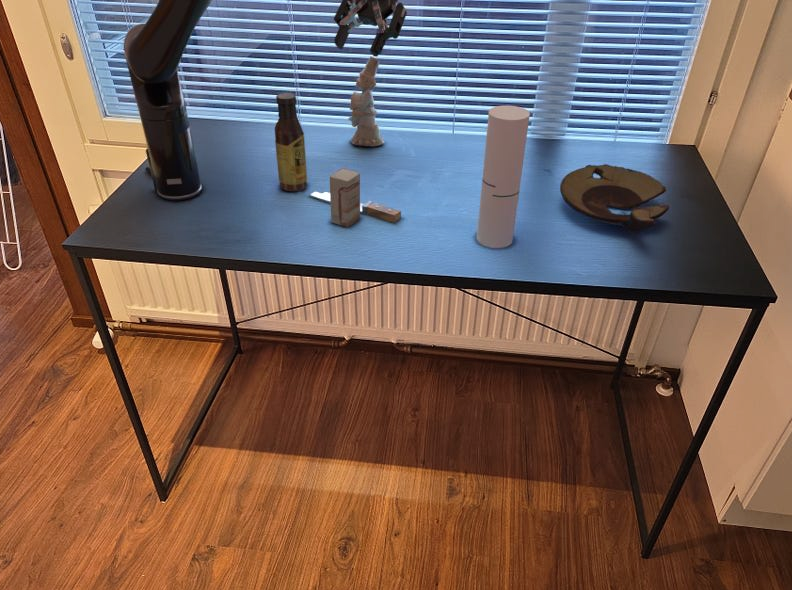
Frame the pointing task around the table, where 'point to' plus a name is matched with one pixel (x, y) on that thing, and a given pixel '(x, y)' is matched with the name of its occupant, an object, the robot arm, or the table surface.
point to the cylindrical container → (502, 175)
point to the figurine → (365, 108)
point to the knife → (367, 208)
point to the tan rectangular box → (345, 197)
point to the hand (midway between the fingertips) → (355, 50)
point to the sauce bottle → (290, 145)
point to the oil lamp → (613, 195)
